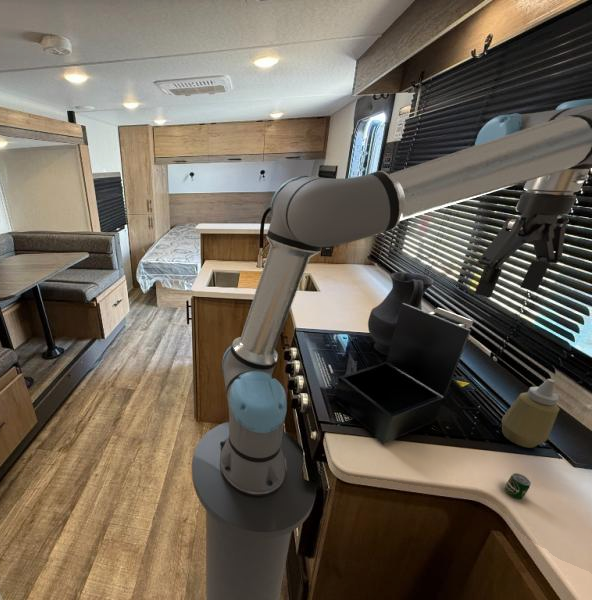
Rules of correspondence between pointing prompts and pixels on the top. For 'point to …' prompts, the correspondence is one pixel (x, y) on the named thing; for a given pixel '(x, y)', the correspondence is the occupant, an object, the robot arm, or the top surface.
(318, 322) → the top surface
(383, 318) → the pitcher
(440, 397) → the compartment
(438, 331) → the compartment lid
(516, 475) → the beer can
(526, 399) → the squeeze bottle
